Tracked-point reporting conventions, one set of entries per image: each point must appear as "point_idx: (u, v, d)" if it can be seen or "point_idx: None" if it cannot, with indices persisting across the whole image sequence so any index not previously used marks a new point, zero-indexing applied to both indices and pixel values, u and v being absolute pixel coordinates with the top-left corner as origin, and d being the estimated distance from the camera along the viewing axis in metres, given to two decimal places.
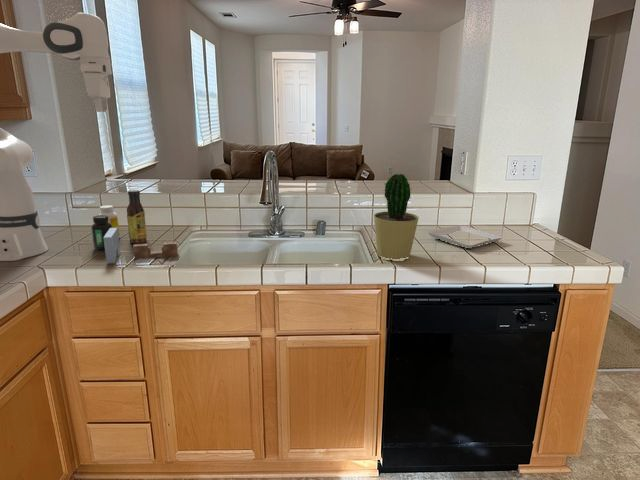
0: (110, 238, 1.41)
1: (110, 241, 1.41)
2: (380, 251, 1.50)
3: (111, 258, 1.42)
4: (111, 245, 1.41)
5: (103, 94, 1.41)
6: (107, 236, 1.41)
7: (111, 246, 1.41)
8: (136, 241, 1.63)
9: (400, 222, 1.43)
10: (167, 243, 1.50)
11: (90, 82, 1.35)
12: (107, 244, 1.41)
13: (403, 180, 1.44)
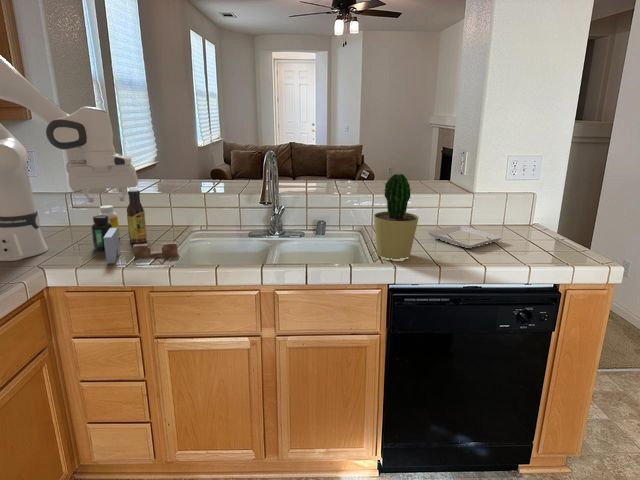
0: (110, 238, 1.41)
1: (110, 241, 1.41)
2: (380, 251, 1.50)
3: (111, 258, 1.42)
4: (111, 245, 1.41)
5: None
6: (107, 236, 1.41)
7: (111, 246, 1.41)
8: (136, 241, 1.63)
9: (400, 222, 1.43)
10: (167, 243, 1.50)
11: (135, 173, 1.42)
12: (107, 244, 1.41)
13: (403, 180, 1.44)
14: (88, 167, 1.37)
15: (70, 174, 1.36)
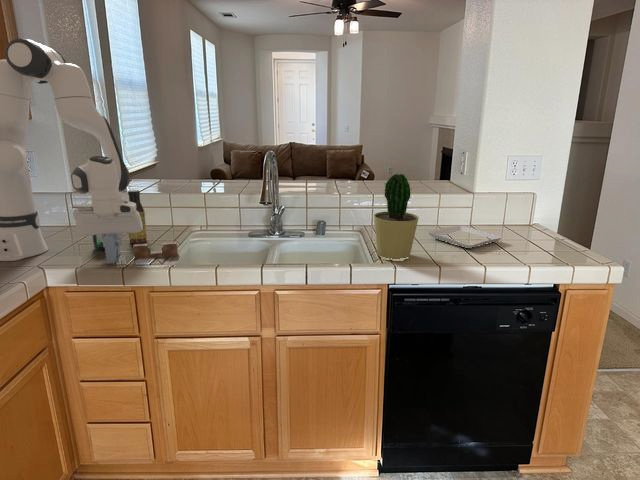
0: (110, 238, 1.41)
1: (110, 241, 1.41)
2: (380, 251, 1.50)
3: (111, 258, 1.42)
4: (111, 245, 1.41)
5: None
6: (107, 236, 1.41)
7: (111, 246, 1.41)
8: (136, 241, 1.63)
9: (400, 222, 1.43)
10: (167, 243, 1.50)
11: (140, 219, 1.47)
12: (107, 244, 1.41)
13: (403, 180, 1.44)
14: (95, 214, 1.41)
15: (77, 221, 1.40)
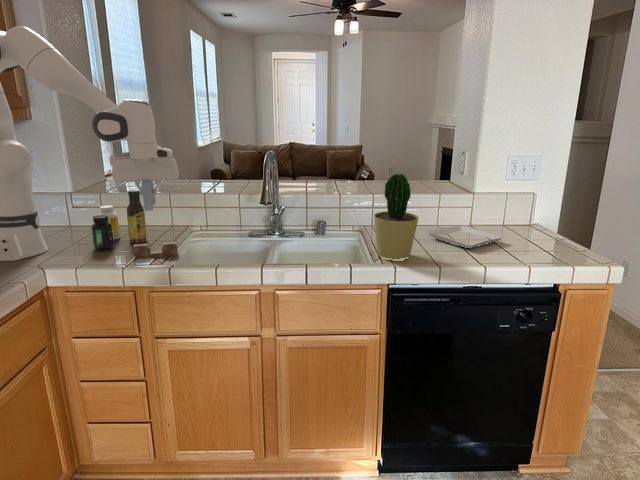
0: (148, 184, 1.37)
1: (148, 187, 1.37)
2: (380, 251, 1.50)
3: (148, 205, 1.39)
4: (149, 191, 1.38)
5: None
6: (144, 182, 1.37)
7: (149, 192, 1.38)
8: (136, 241, 1.63)
9: (400, 222, 1.43)
10: (167, 243, 1.50)
11: (176, 165, 1.43)
12: (145, 190, 1.37)
13: (403, 180, 1.44)
14: (131, 160, 1.37)
15: (114, 167, 1.36)
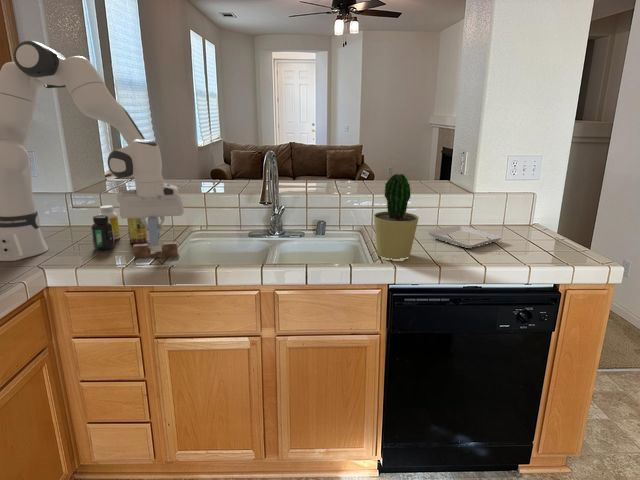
0: (154, 221, 1.41)
1: (154, 224, 1.41)
2: (380, 251, 1.50)
3: (154, 241, 1.43)
4: (155, 228, 1.42)
5: None
6: (151, 219, 1.42)
7: (155, 229, 1.42)
8: (136, 241, 1.63)
9: (400, 222, 1.43)
10: (167, 243, 1.50)
11: None
12: (151, 227, 1.41)
13: (403, 180, 1.44)
14: (138, 197, 1.42)
15: (121, 204, 1.41)
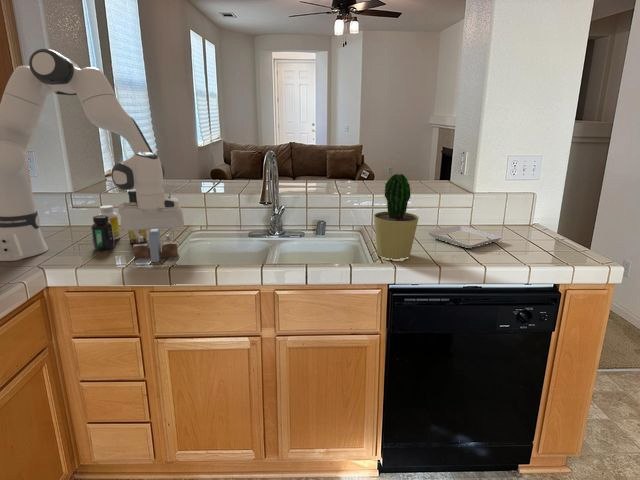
0: (155, 237, 1.43)
1: (155, 240, 1.43)
2: (380, 251, 1.50)
3: (155, 257, 1.44)
4: (156, 244, 1.43)
5: None
6: (152, 235, 1.43)
7: (156, 245, 1.43)
8: (136, 241, 1.63)
9: (400, 222, 1.43)
10: (167, 243, 1.50)
11: (182, 214, 1.48)
12: (152, 243, 1.43)
13: (403, 180, 1.44)
14: (139, 209, 1.43)
15: (122, 216, 1.42)
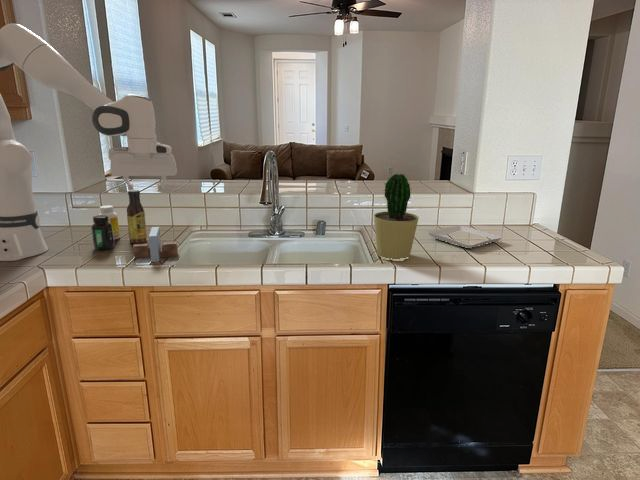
0: (155, 237, 1.43)
1: (155, 240, 1.43)
2: (380, 251, 1.50)
3: (155, 257, 1.44)
4: (156, 244, 1.43)
5: None
6: (152, 235, 1.43)
7: (156, 245, 1.43)
8: (136, 241, 1.63)
9: (400, 222, 1.43)
10: (167, 243, 1.50)
11: (175, 162, 1.43)
12: (152, 243, 1.43)
13: (403, 180, 1.44)
14: (130, 154, 1.38)
15: (112, 160, 1.37)
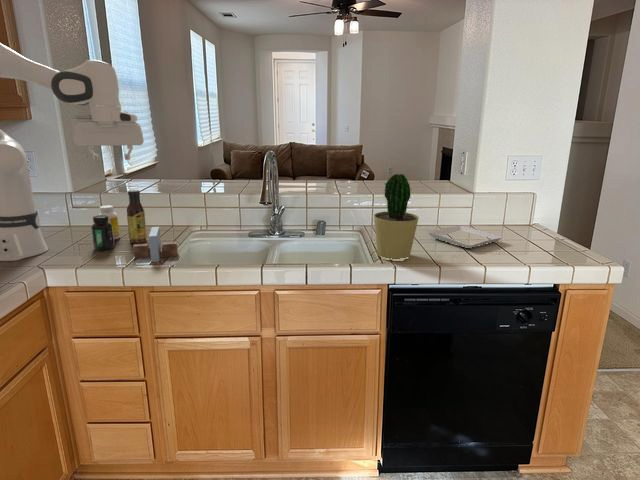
0: (155, 237, 1.43)
1: (155, 240, 1.43)
2: (380, 251, 1.50)
3: (155, 257, 1.44)
4: (156, 244, 1.43)
5: None
6: (152, 235, 1.43)
7: (156, 245, 1.43)
8: (136, 241, 1.63)
9: (400, 222, 1.43)
10: (167, 243, 1.50)
11: (141, 131, 1.40)
12: (152, 243, 1.43)
13: (403, 180, 1.44)
14: (93, 123, 1.35)
15: (75, 129, 1.34)
